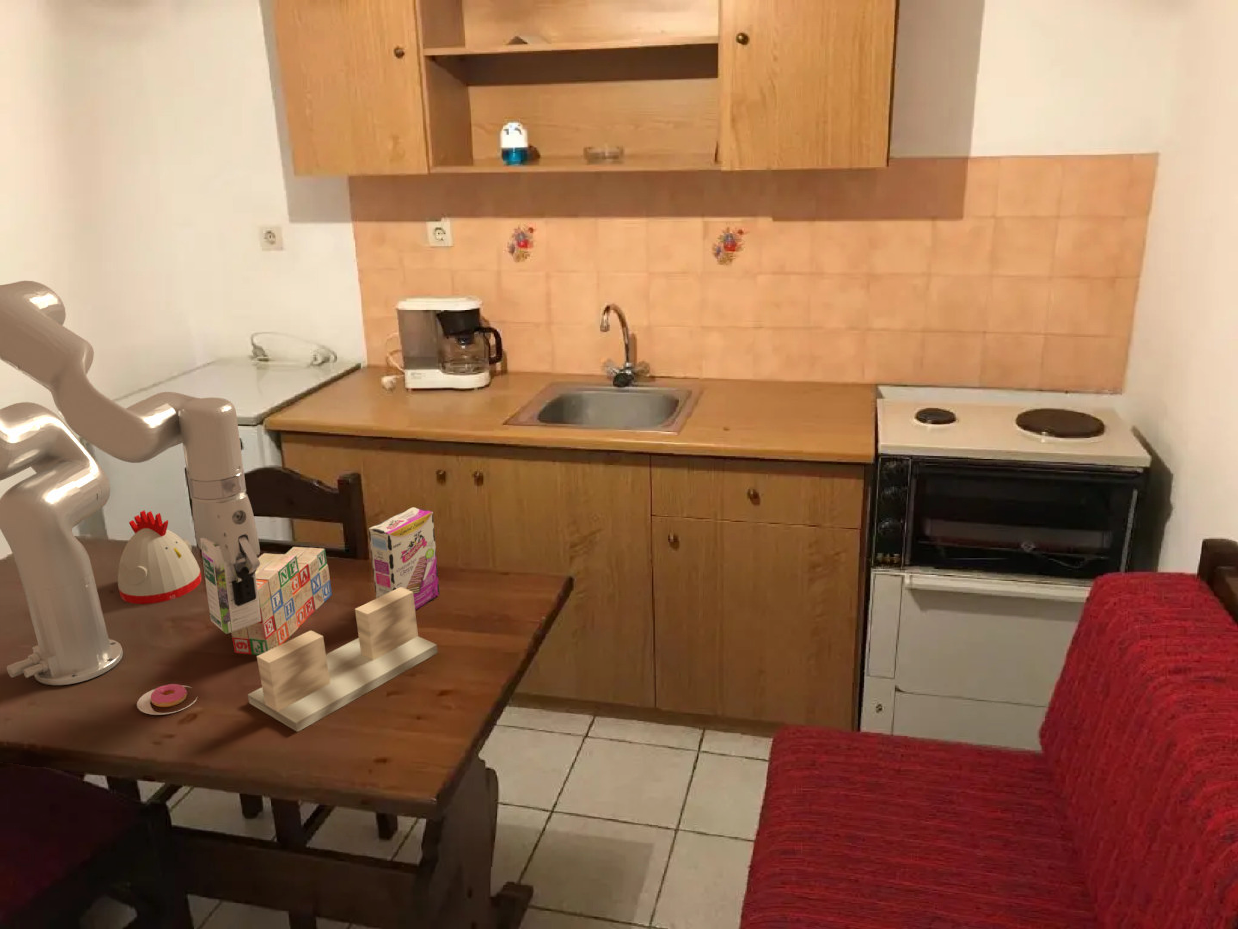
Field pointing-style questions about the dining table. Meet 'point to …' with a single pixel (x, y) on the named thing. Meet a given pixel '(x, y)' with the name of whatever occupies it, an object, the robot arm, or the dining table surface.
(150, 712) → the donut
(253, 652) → the stack of blocks
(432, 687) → the dining table surface
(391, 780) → the dining table surface
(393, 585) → the candy bar box
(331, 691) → the slotted board
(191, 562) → the kitchen timer
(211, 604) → the syrup box
